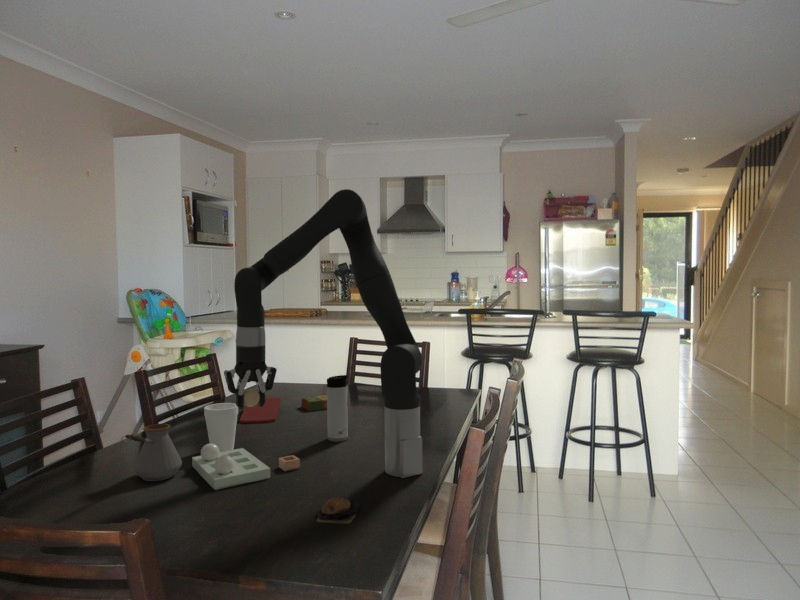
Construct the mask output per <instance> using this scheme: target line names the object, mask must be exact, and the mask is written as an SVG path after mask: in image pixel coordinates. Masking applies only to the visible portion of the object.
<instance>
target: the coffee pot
mask: <svg viewBox="0 0 800 600" xmlns="http://www.w3.org/2000/svg"><path fill="white" fill-rule="evenodd" d="M170 428H171V424H168V423H156V424H155V423H154V424H149V425H146V426H144V427H143V429H142V430H143V432H145V434H146V437H142V436H139V435H134V434H125V435H124V436H123V437H121V439H120V442H121V443H122V444H124V445H127V444H129V443H131V441H132V440H133V441H134V442H139V443H143V444H142V446H141V449H140V452H139V455H138V456H137V459H136V462H135V464H134V467H133V470H134V472H135V474H136V475H137V476H138V477H140V478H142V480H143V481H146V482H159V481H164V480H167V479H170V478H173V477H174V476H175V474H176V473H177V472H178V471H180V469H181V468H182V465H183V461H182V459H181V456H180V454H179V452H178V450H177V448H176V447H175V445H174V443H173V441H172V439H171V437H170V436H169V429H170ZM124 438H126V439H129V441H128V442H125V443H124V442H123V439H124Z"/></svg>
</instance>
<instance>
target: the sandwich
mask: <svg viewBox="0 0 800 600" xmlns="http://www.w3.org/2000/svg"><path fill="white" fill-rule="evenodd" d="M359 509H360V504H359V503H358V502H357V501H356V499H346V498H344V497H339V496H337V497H330V498H328V500H327V501H326V502H324V504H323V506H322V508H321V509H320V510H318V511H317V513H316V514H317V519H316V522H317V523H326V524H328V523H329V524H345V525H346V524H351V523H352V522H353V521H354V519H355V517H356V515H357V514H358V512H359Z"/></svg>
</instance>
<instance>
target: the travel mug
mask: <svg viewBox="0 0 800 600" xmlns="http://www.w3.org/2000/svg"><path fill="white" fill-rule="evenodd" d="M348 378H349V375H348V374H342V375H341V374H340V375H333V376H330V377H328V378H326V395H327V409H326V410H327V411H326V412H327V413H326V416H327V417H326V419H327V420H326V421H327V441H329V442H332V443H340V442H341V443H342V442H345V441H347V440H348V439H349V434H348V433H349V431H348V429H349V428H348V427H349V426H348V425H349V423H348V418H349V417H348V406H347V397H348V385H347V384H348V380H347V379H348Z"/></svg>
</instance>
